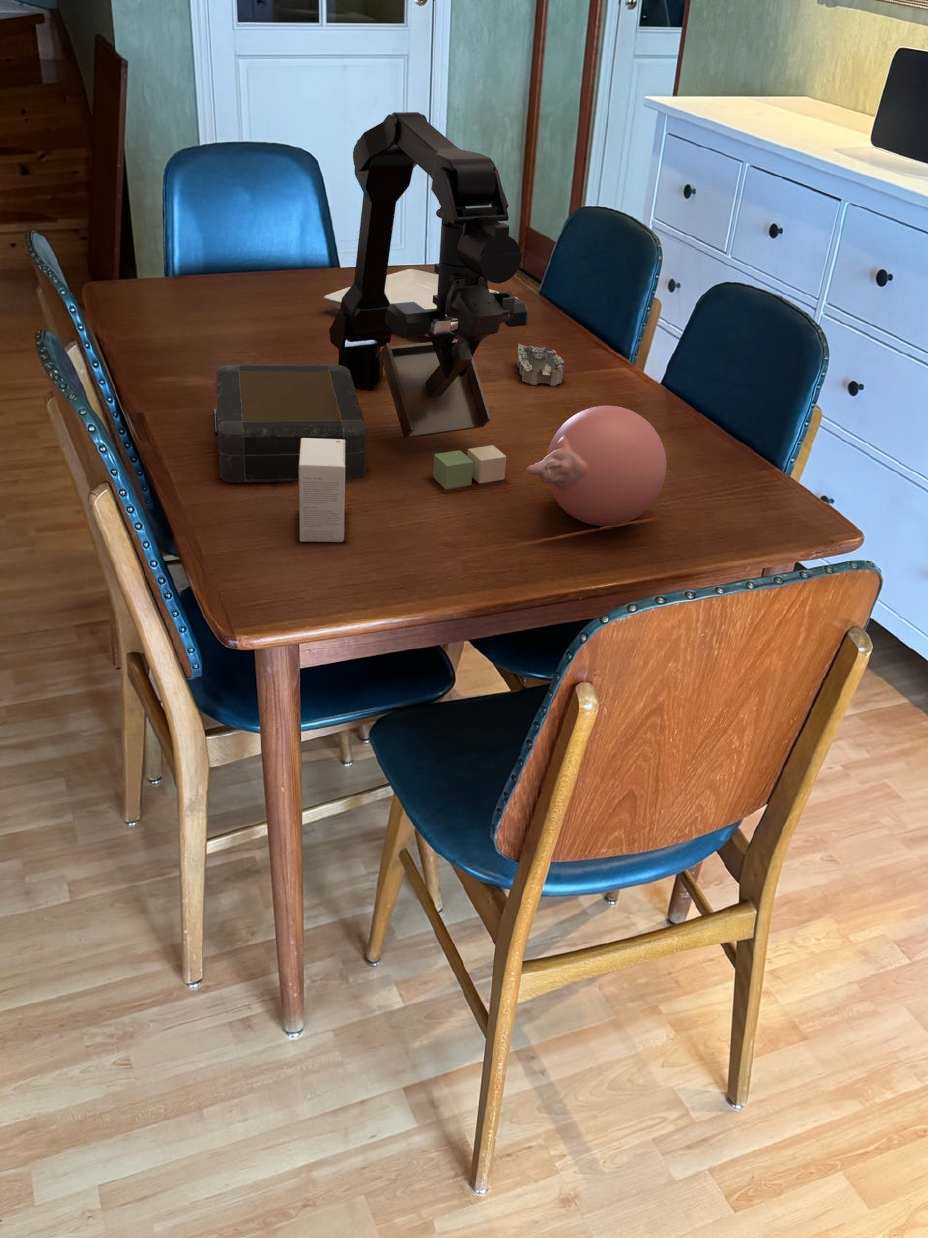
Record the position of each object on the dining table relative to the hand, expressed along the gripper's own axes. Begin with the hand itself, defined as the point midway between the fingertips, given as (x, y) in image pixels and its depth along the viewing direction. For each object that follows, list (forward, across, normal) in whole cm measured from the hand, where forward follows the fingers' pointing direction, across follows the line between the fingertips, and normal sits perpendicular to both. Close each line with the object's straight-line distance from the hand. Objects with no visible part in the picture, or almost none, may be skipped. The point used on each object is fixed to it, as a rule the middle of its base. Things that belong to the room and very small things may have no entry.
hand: (453, 376), depth 151 cm
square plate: (+13, +25, +62) cm, 68 cm away
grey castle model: (+13, +31, +27) cm, 43 cm away
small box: (+13, -24, -12) cm, 30 cm away
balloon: (+13, +9, -22) cm, 27 cm away
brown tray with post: (+4, 0, +6) cm, 8 cm away
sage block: (+11, -3, -4) cm, 12 cm away
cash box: (+13, -20, +13) cm, 27 cm away
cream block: (+11, +3, -4) cm, 12 cm away
